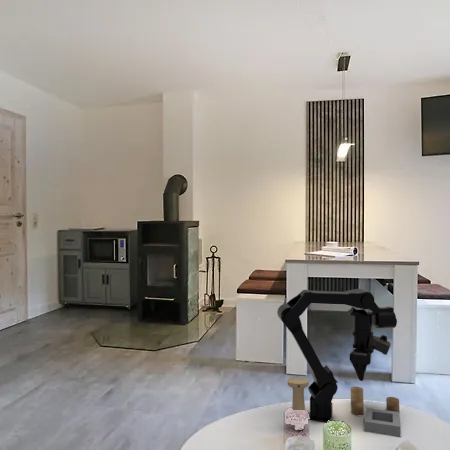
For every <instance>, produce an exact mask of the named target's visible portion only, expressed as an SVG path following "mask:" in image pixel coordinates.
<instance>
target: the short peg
mask: <svg viewBox="0 0 450 450" xmlns="http://www.w3.org/2000/svg"><path fill="white" fill-rule="evenodd" d="M385 401H386V405H385V406H386V408H385V410H388V411H395V412H400V399H399V398H397V397H396V396H395V397H394V396H388V397H386V398H385Z"/></svg>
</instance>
